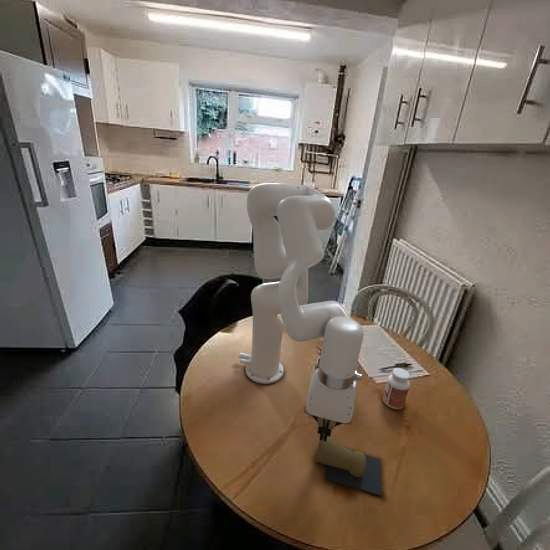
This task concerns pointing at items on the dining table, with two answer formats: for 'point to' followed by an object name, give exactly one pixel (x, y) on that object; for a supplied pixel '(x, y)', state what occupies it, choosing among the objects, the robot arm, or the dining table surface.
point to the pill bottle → (396, 388)
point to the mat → (364, 483)
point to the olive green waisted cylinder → (340, 457)
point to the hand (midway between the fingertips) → (323, 435)
